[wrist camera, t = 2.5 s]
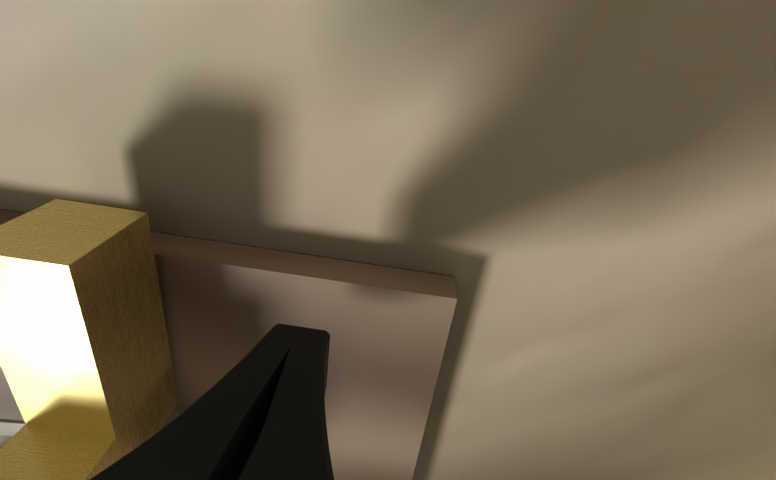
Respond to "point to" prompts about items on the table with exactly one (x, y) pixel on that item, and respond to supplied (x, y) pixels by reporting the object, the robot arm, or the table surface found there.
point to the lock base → (311, 310)
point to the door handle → (81, 339)
